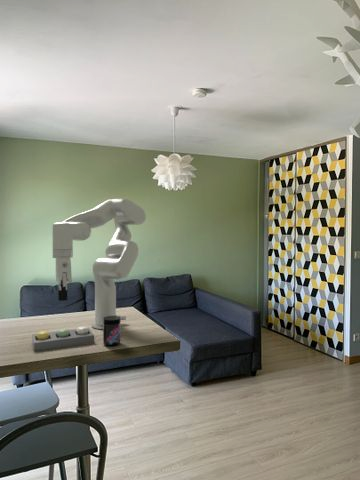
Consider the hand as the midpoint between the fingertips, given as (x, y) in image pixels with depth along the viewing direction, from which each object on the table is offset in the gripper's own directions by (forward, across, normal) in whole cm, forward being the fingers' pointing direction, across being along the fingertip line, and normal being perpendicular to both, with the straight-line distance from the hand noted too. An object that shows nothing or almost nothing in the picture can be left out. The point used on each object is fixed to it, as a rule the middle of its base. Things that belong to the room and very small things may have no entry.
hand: (62, 300), depth 137 cm
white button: (+15, 0, -8) cm, 17 cm away
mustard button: (+15, 0, +7) cm, 16 cm away
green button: (+15, 0, 0) cm, 15 cm away
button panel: (+17, 0, 0) cm, 17 cm away
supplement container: (+17, -10, -17) cm, 26 cm away
